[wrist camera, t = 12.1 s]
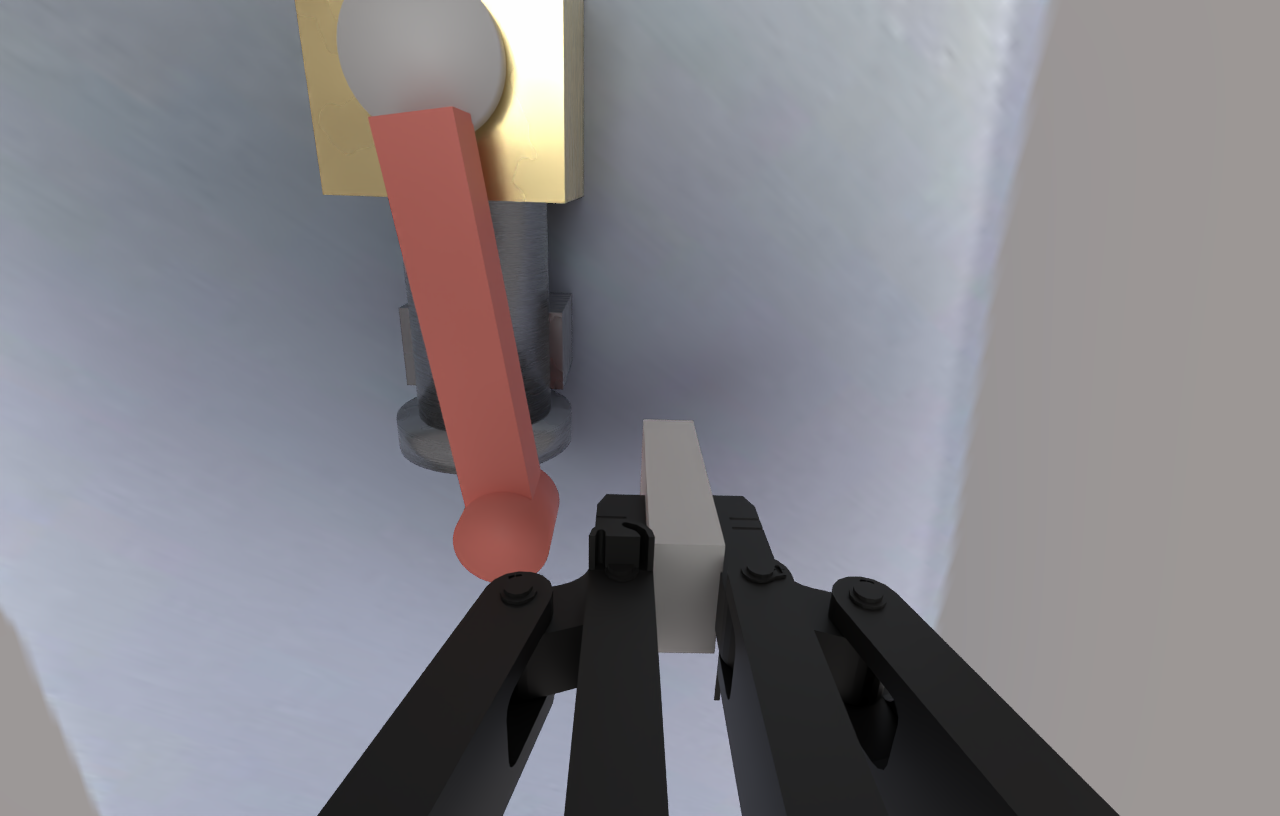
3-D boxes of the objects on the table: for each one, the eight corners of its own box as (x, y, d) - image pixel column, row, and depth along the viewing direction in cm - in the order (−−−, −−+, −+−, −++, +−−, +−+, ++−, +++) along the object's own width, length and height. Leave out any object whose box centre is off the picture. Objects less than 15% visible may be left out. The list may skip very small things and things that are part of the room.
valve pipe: (358, -360, 19) (195, -684, 12) (583, -346, 19) (556, -658, 12) (431, 399, 28) (363, 474, 21) (583, 404, 28) (567, 479, 21)
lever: (334, -19, 15) (260, -69, 12) (489, -40, 15) (453, -95, 12) (472, 530, 21) (444, 590, 18) (584, 518, 21) (576, 576, 18)
